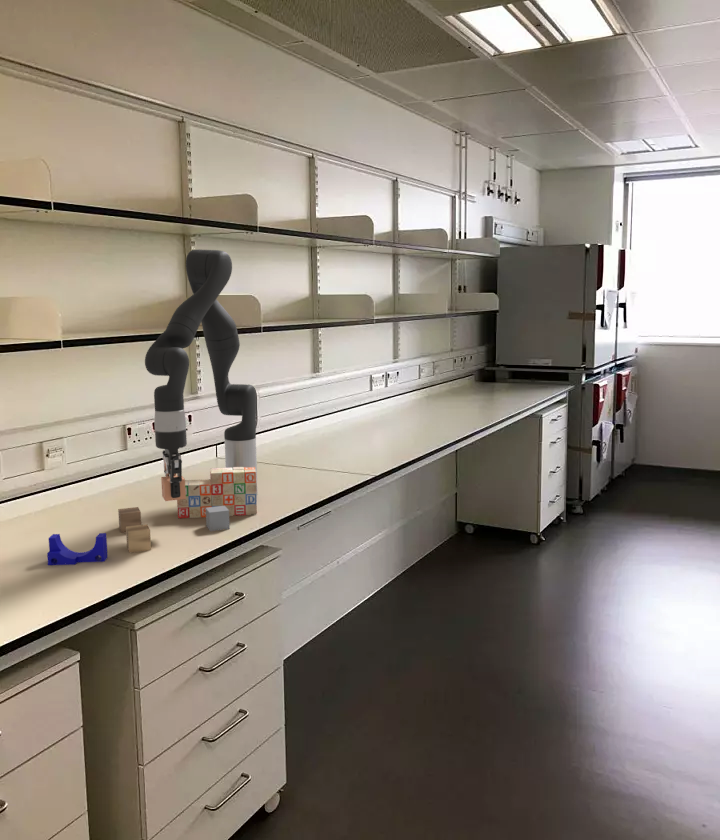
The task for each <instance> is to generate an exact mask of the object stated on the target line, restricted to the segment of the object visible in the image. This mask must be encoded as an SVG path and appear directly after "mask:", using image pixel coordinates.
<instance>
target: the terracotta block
mask: <svg viewBox="0 0 720 840" xmlns="http://www.w3.org/2000/svg"><path fill="white" fill-rule="evenodd" d="M174 477H177V474H176V476H174ZM160 478H161V479H160V480H161V497H162V498H163V500H164V501H165V502H169V501H171V502H172V501H177V500H180V499H186V491H185V480H186V479H185V478H184V476H183V475H182V481H181V482H180V497H178V498H172V497H171V487H170V481H169V480H170V477H169V476H161V477H160Z"/></svg>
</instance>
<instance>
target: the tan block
mask: <svg viewBox="0 0 720 840" xmlns="http://www.w3.org/2000/svg"><path fill="white" fill-rule="evenodd" d="M117 512H118V529H119V531H120V533H121V534H122V533H126V527H128V526H137V525H142V513H141V509H140V508H139V506H137V507H125V508H118V511H117Z"/></svg>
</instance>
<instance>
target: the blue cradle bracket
mask: <svg viewBox="0 0 720 840" xmlns="http://www.w3.org/2000/svg"><path fill="white" fill-rule="evenodd" d="M48 548H49V551H48V552H47V554H46V556H47V566H65V565H66V566H69V565H74V566H75V565H77V563H103V562H105V561H106V560H107V559H108V541H107V533H106V532H102V533H100V532H99V533H98V534H97V535H96V536H95V543H94V545H93V548H91V549H89V550H88V551H83V552H82V551H81V552H80V551H79V552H77V551H73V550H71V549H70V548H68V547H67V546H66V545H65V544H64V543H63V541H62V538H61V534H60V533H53V534H52V535H50V536H49V537H48Z"/></svg>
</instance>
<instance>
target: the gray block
mask: <svg viewBox="0 0 720 840" xmlns="http://www.w3.org/2000/svg"><path fill="white" fill-rule="evenodd" d="M205 521H206V523H205V526H206V527H207V529H208V530H209V531H210V532H216V530H217V531H222V530H223V529H225V530H230V528H231V527H230V516H229V510H228V509H227V508H226V507H225V506H217V507H208V508H206V517H205ZM223 531H224V530H223Z"/></svg>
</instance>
